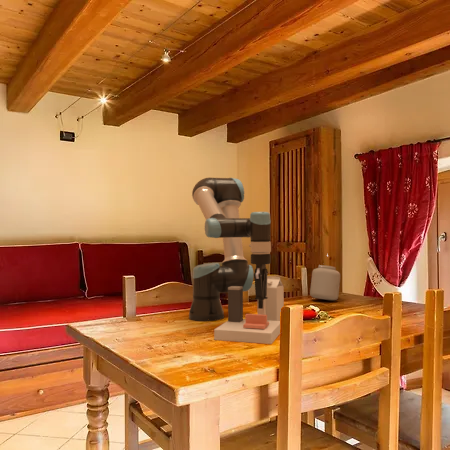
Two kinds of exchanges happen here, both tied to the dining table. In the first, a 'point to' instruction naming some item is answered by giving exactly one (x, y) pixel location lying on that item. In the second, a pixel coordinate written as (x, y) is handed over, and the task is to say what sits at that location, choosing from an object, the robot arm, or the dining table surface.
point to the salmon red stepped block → (256, 321)
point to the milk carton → (274, 298)
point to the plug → (235, 303)
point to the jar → (325, 283)
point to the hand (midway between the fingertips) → (261, 316)
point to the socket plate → (247, 332)
